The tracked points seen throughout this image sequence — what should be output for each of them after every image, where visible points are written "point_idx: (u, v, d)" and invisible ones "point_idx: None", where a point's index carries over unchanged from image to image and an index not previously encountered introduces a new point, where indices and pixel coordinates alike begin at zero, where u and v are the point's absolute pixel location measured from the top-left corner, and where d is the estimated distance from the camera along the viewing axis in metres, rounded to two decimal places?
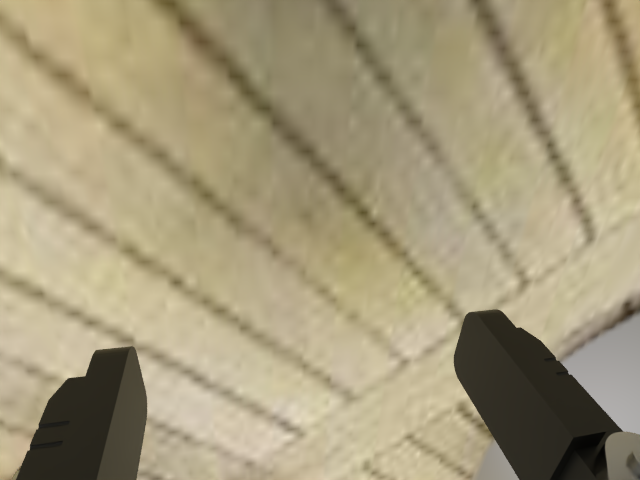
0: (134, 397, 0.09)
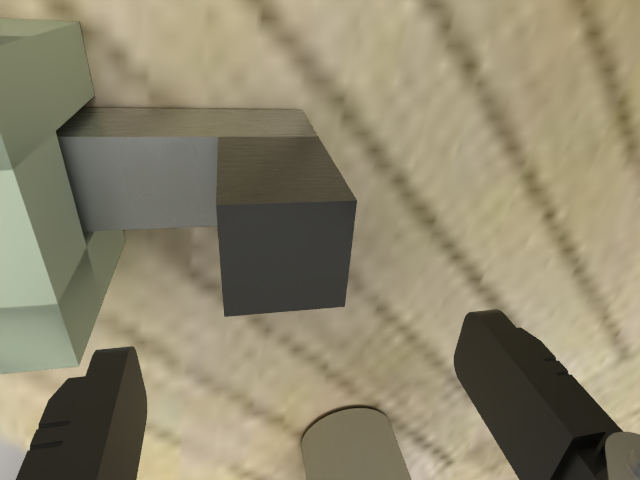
0: (134, 397, 0.09)
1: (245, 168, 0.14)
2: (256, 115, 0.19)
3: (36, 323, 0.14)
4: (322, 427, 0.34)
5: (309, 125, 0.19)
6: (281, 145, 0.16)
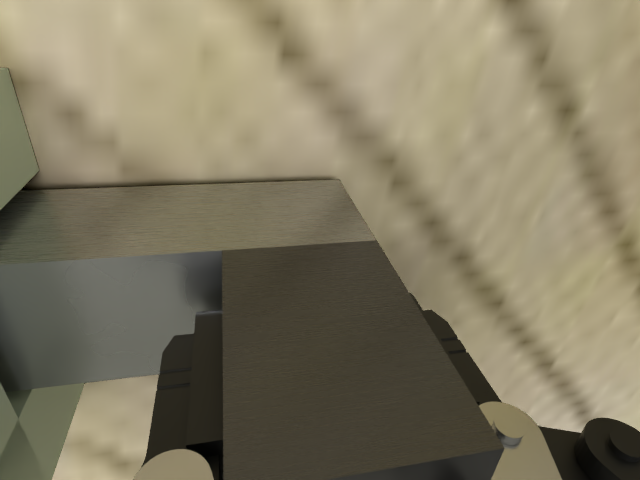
0: None
1: (273, 343, 0.08)
2: (276, 194, 0.13)
3: None
4: None
5: (357, 213, 0.12)
6: (324, 268, 0.10)
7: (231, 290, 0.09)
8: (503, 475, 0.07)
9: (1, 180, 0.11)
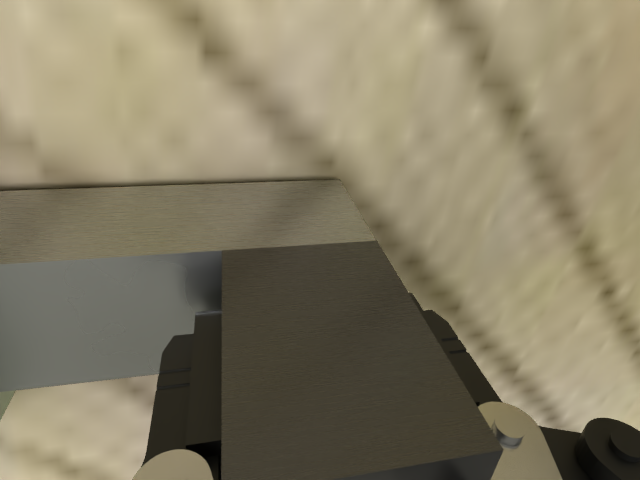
0: None
1: (272, 344, 0.08)
2: (277, 195, 0.13)
3: None
4: None
5: (357, 214, 0.12)
6: (323, 268, 0.10)
7: (231, 290, 0.09)
8: (503, 475, 0.07)
9: None
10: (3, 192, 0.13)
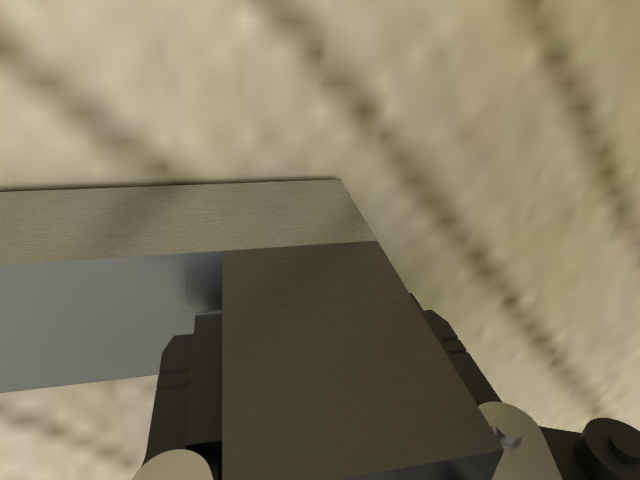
0: None
1: (273, 344, 0.08)
2: (277, 195, 0.13)
3: None
4: None
5: (358, 213, 0.12)
6: (324, 268, 0.10)
7: (231, 291, 0.09)
8: (503, 475, 0.07)
9: None
10: (3, 193, 0.13)
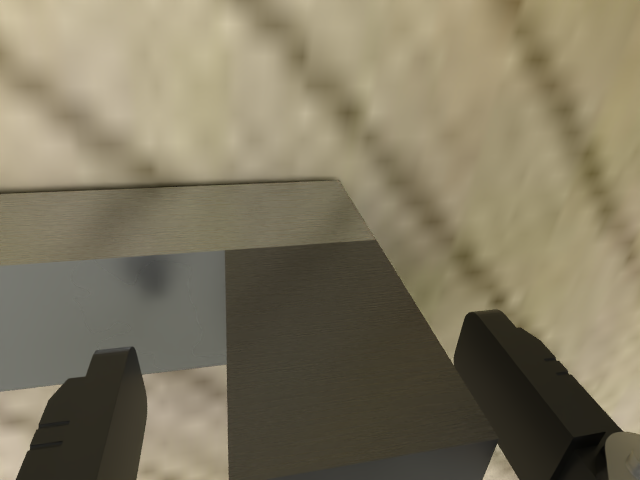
0: (134, 397, 0.09)
1: (275, 340, 0.08)
2: (277, 195, 0.14)
3: None
4: None
5: (357, 214, 0.13)
6: (324, 267, 0.10)
7: (234, 289, 0.09)
8: None
9: None
10: (9, 195, 0.13)
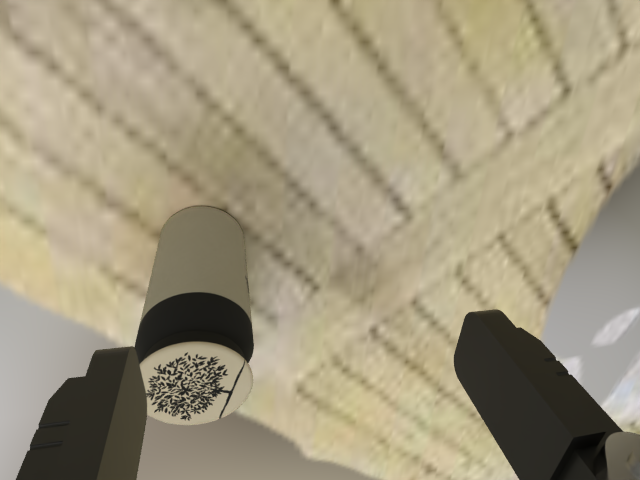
0: (134, 397, 0.09)
1: None
2: None
3: None
4: (171, 220, 0.39)
5: None
6: None
7: None
8: None
9: None
10: None
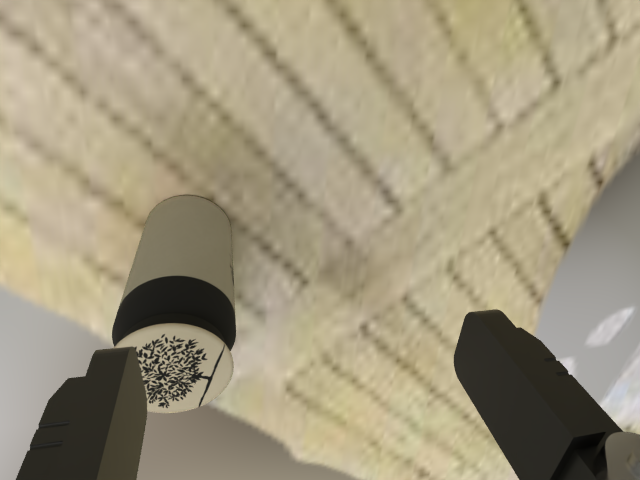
0: (134, 397, 0.09)
1: None
2: None
3: None
4: (156, 208, 0.38)
5: None
6: None
7: None
8: None
9: None
10: None
